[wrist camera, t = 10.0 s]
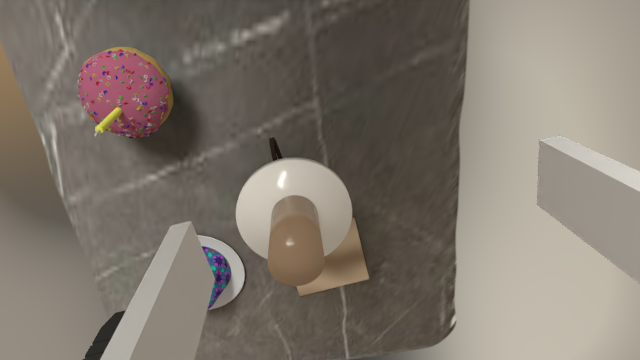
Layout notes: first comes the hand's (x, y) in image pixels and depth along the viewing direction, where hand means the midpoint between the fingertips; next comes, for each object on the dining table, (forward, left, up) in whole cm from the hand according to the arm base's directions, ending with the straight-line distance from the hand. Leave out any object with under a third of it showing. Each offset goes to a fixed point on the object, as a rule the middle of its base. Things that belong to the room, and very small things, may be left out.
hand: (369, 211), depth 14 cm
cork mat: (+22, -4, -31) cm, 38 cm away
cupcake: (-5, -18, -31) cm, 36 cm away
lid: (+9, -5, -21) cm, 23 cm away
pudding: (+20, -21, -31) cm, 42 cm away
